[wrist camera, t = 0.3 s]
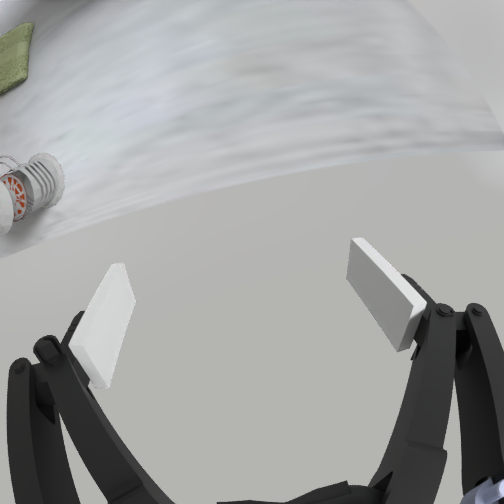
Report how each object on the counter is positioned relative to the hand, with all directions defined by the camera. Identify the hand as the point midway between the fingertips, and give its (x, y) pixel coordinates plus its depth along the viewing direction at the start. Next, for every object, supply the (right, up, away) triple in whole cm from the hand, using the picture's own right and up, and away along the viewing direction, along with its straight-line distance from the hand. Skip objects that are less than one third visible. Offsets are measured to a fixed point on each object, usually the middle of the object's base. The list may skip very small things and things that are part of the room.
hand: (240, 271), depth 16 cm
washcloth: (-45, +35, +9) cm, 57 cm away
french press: (-35, +14, +20) cm, 42 cm away
